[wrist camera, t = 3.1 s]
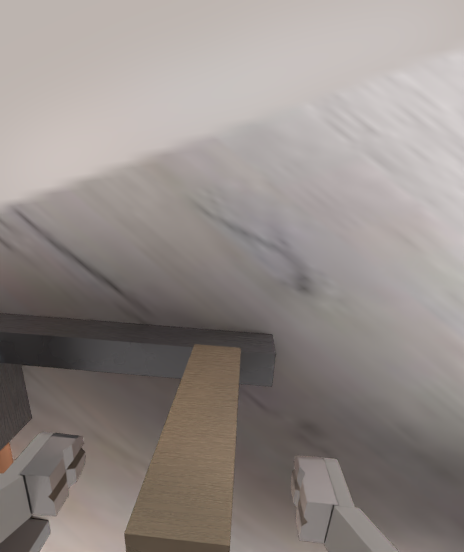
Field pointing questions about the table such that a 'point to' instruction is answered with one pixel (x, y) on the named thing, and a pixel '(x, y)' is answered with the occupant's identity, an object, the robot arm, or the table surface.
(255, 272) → the table surface
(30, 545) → the grey l-shaped bookend
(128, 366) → the tan-tipped l-shaped bar
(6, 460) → the cube
